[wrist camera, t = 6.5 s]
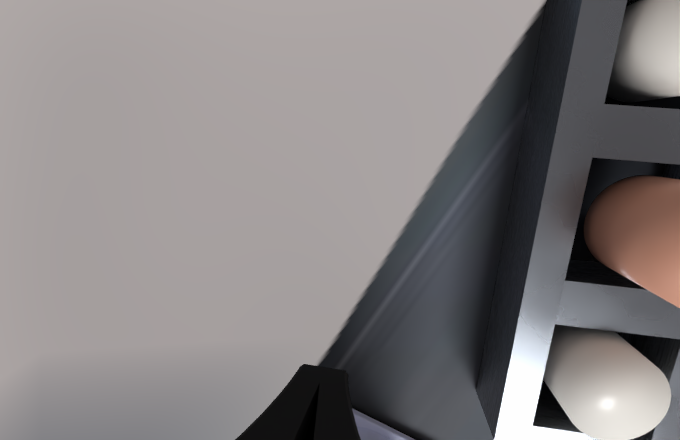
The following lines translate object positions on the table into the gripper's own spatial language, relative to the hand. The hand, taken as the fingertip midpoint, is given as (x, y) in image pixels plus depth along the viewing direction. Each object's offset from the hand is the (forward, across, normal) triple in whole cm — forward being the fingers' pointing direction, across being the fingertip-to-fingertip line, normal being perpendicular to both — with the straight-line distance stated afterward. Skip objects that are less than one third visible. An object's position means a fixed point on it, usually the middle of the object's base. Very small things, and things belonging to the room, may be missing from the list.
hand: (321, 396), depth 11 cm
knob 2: (+9, -12, +2) cm, 15 cm away
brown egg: (+7, -11, -5) cm, 14 cm away
